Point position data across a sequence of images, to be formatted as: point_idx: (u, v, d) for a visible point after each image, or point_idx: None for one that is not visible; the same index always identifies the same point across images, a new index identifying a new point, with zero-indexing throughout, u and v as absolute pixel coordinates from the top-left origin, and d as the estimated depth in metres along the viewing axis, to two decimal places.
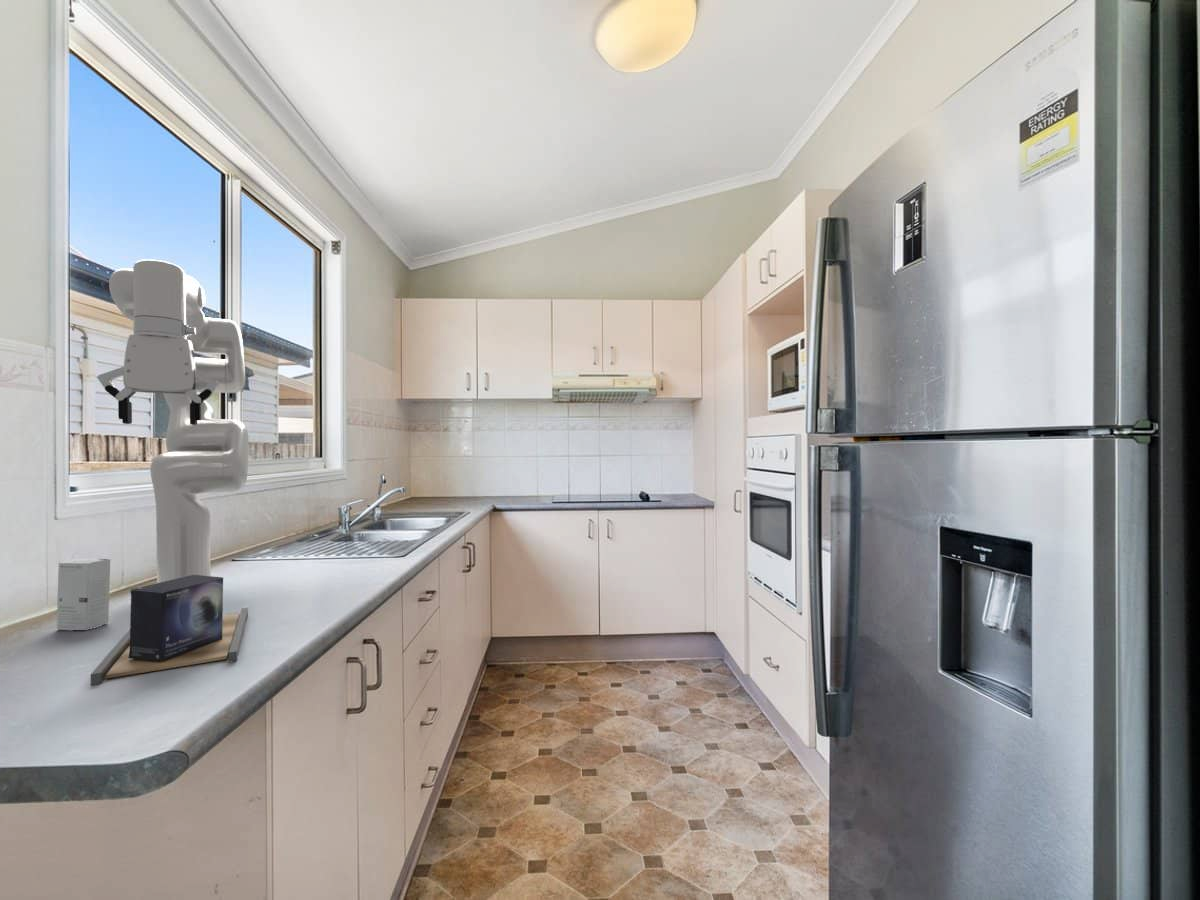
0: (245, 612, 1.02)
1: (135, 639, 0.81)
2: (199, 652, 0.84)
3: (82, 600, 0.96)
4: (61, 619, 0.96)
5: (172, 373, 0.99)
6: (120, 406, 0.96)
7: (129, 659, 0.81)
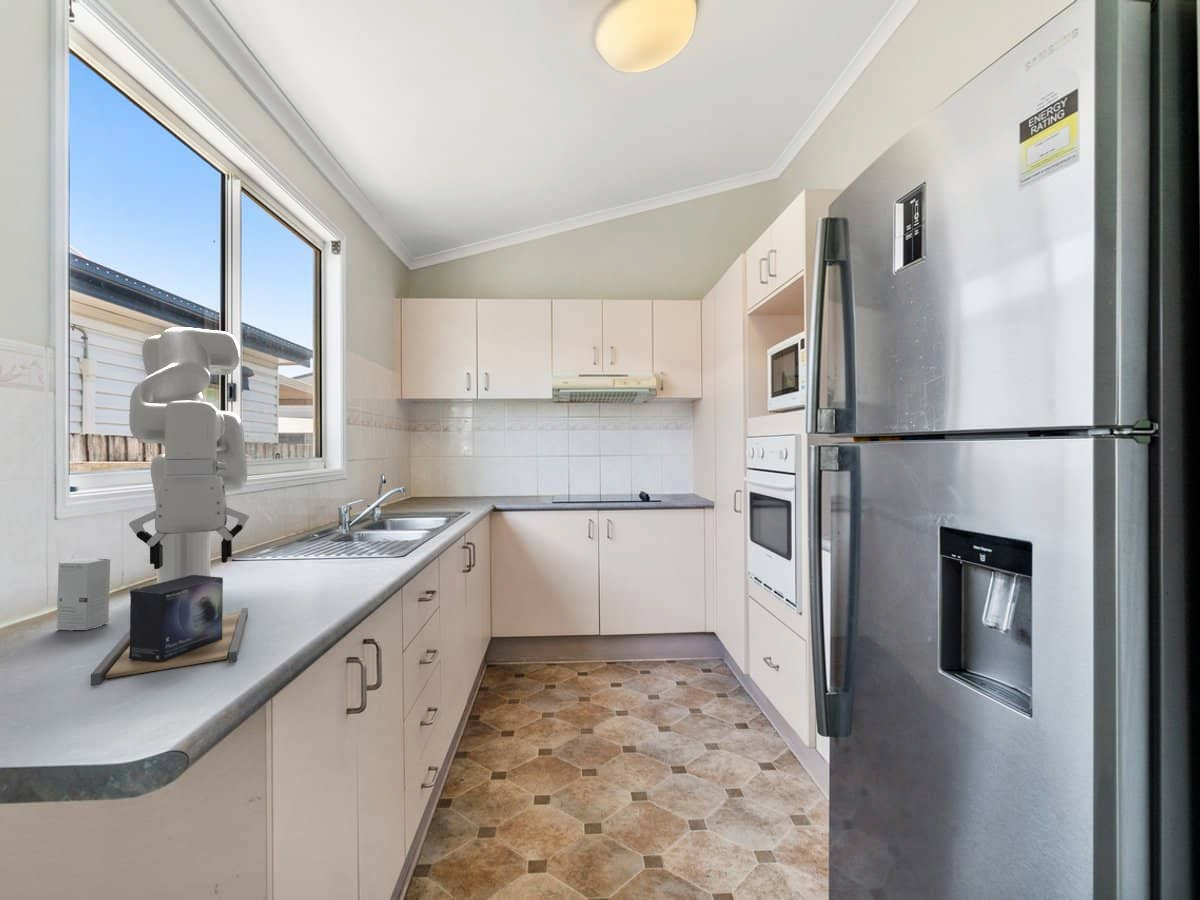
0: (245, 612, 1.02)
1: (135, 640, 0.81)
2: (199, 652, 0.84)
3: (82, 600, 0.96)
4: (61, 619, 0.96)
5: (204, 514, 0.97)
6: (152, 551, 0.95)
7: (129, 659, 0.81)
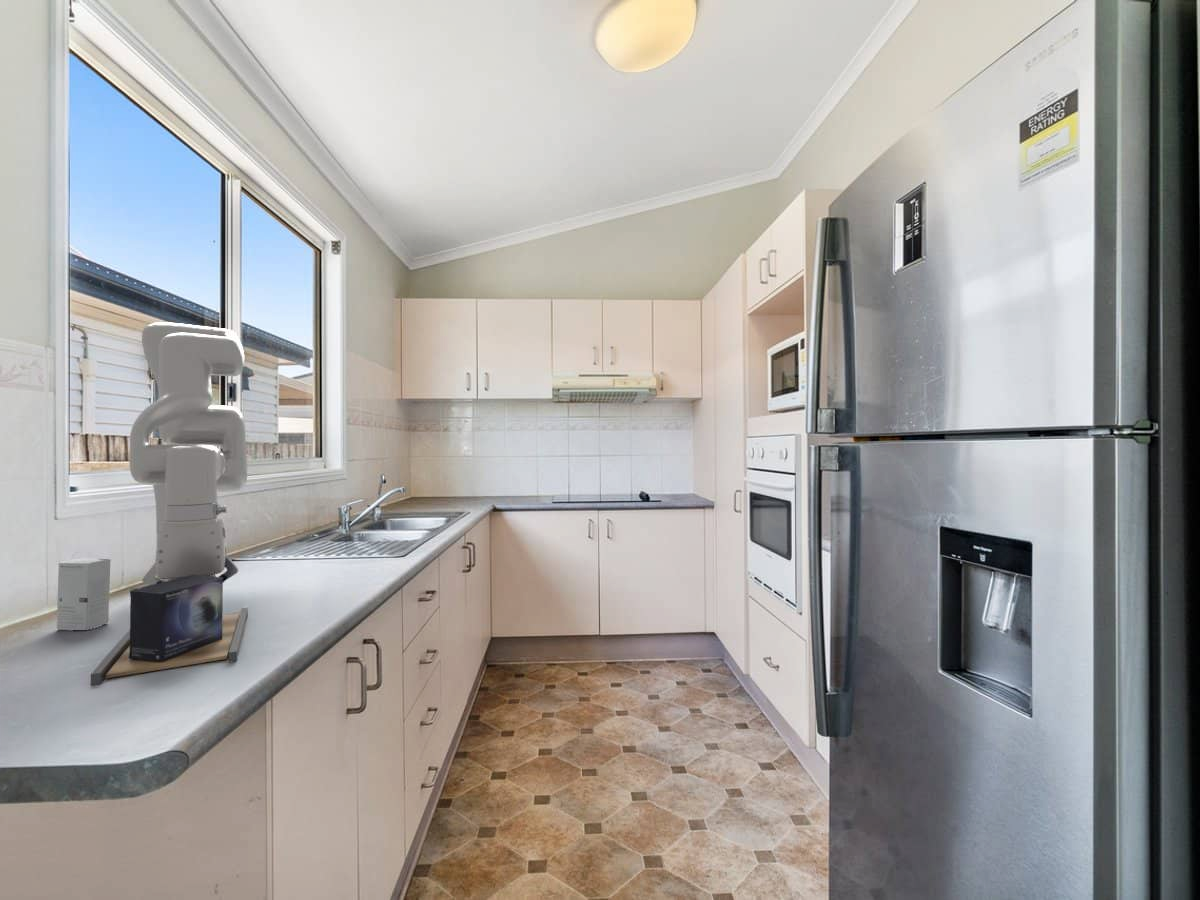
0: (245, 612, 1.02)
1: (135, 640, 0.81)
2: (199, 652, 0.84)
3: (82, 600, 0.96)
4: (61, 619, 0.96)
5: (204, 558, 0.98)
6: None
7: (129, 659, 0.81)
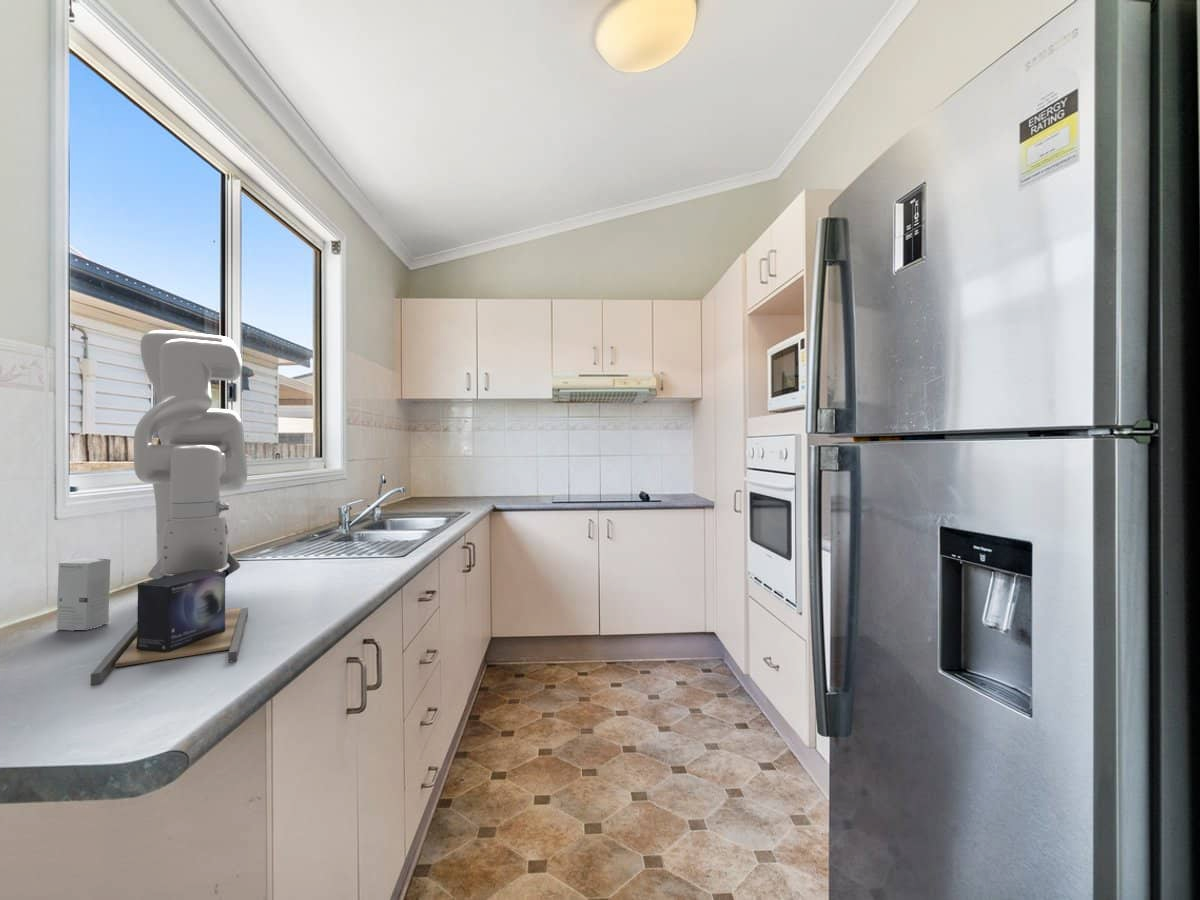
0: (245, 612, 1.02)
1: (142, 631, 0.85)
2: (203, 643, 0.88)
3: (82, 600, 0.96)
4: (61, 619, 0.96)
5: (207, 554, 1.01)
6: None
7: (136, 649, 0.85)
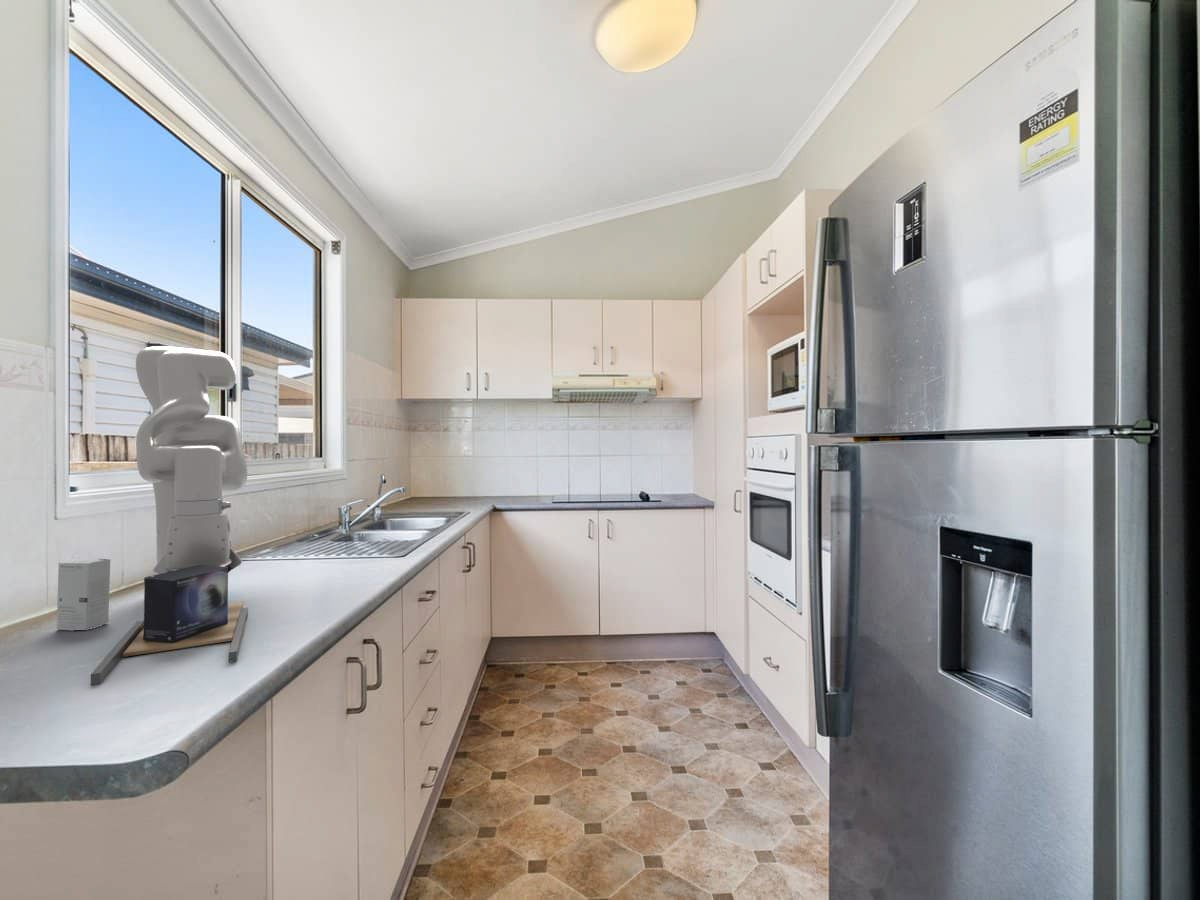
0: (245, 612, 1.02)
1: (149, 623, 0.89)
2: (207, 634, 0.92)
3: (82, 600, 0.96)
4: (61, 619, 0.96)
5: (210, 550, 1.05)
6: None
7: (143, 640, 0.89)
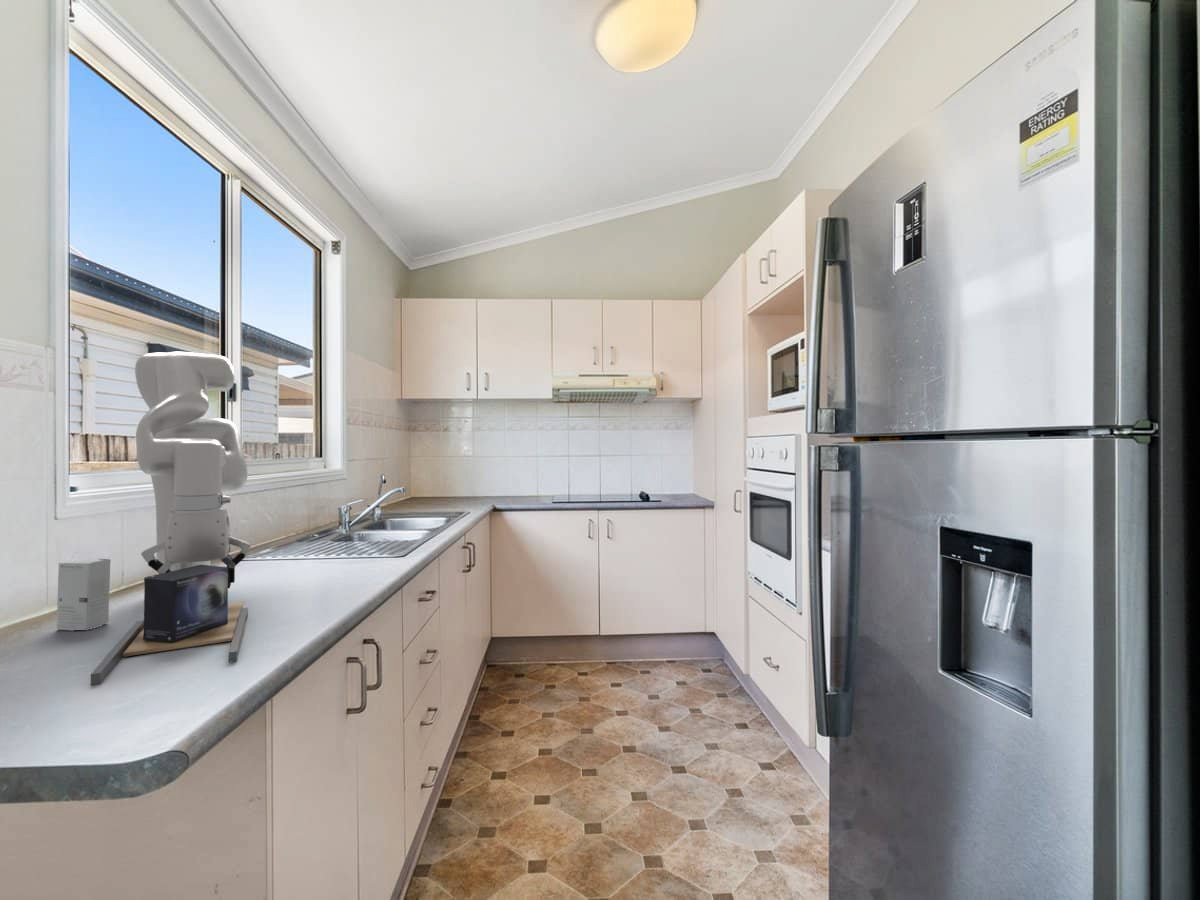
0: (245, 612, 1.02)
1: (149, 623, 0.89)
2: (207, 634, 0.92)
3: (82, 600, 0.96)
4: (61, 619, 0.96)
5: (209, 545, 1.06)
6: None
7: (143, 640, 0.89)
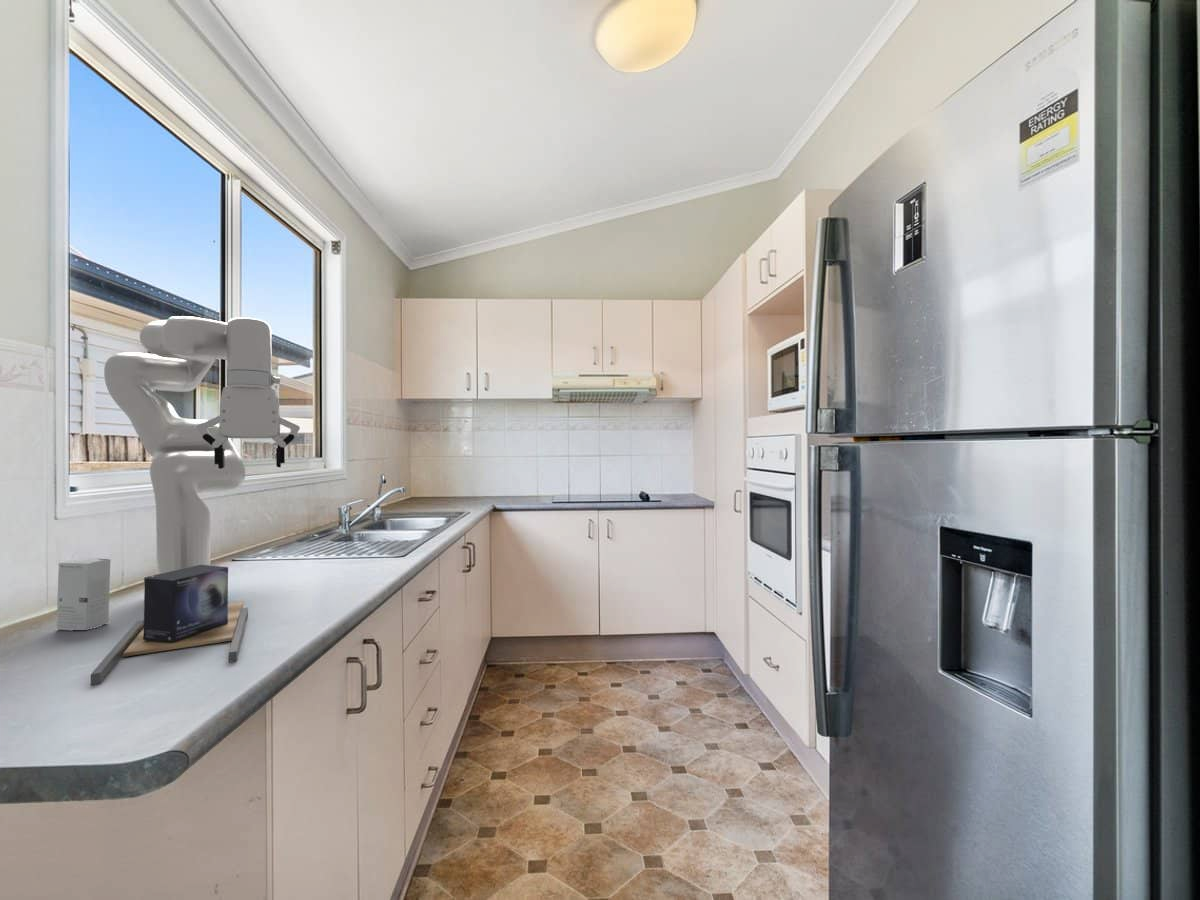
0: (245, 612, 1.02)
1: (149, 623, 0.89)
2: (207, 634, 0.92)
3: (82, 600, 0.96)
4: (61, 619, 0.96)
5: (261, 421, 1.07)
6: (216, 453, 1.05)
7: (143, 640, 0.89)
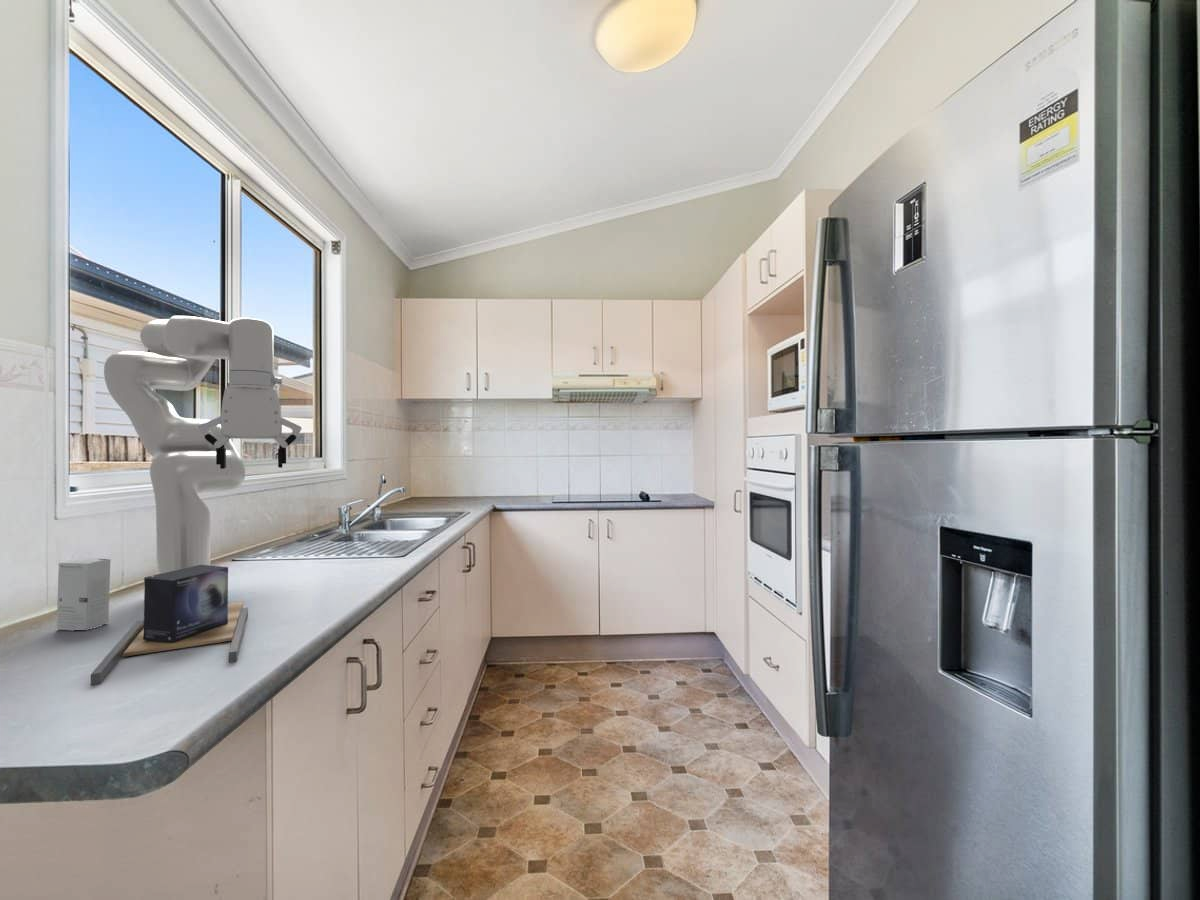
0: (245, 612, 1.02)
1: (149, 622, 0.89)
2: (207, 634, 0.92)
3: (82, 600, 0.96)
4: (61, 619, 0.96)
5: (263, 421, 1.08)
6: (218, 453, 1.05)
7: (143, 640, 0.89)
